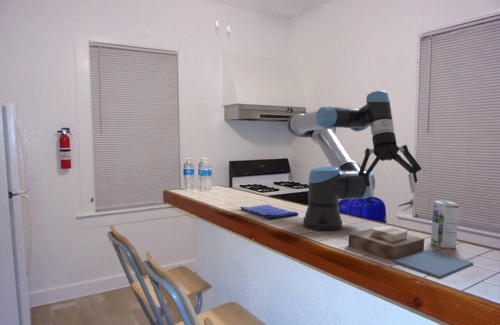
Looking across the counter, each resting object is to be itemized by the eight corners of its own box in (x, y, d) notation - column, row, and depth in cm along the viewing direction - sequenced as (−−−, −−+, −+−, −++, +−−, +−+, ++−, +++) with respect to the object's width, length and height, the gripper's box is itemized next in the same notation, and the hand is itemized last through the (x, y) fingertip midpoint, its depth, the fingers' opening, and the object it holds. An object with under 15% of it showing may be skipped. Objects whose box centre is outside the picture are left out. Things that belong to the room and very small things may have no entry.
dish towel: (268, 221, 142) (268, 214, 142) (239, 210, 162) (239, 205, 162) (299, 216, 152) (299, 210, 151) (268, 207, 171) (268, 201, 171)
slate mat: (392, 262, 96) (392, 260, 96) (426, 251, 106) (427, 249, 106) (439, 278, 85) (440, 275, 85) (472, 264, 95) (473, 262, 95)
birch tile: (370, 235, 108) (371, 228, 108) (384, 232, 112) (384, 225, 112) (393, 241, 102) (394, 234, 101) (407, 238, 105) (407, 231, 105)
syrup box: (429, 242, 115) (432, 200, 114) (447, 242, 115) (450, 200, 114) (438, 247, 110) (441, 203, 109) (457, 248, 110) (460, 203, 109)
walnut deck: (348, 245, 110) (348, 233, 110) (378, 238, 119) (379, 227, 119) (393, 260, 97) (394, 247, 97) (423, 251, 106) (424, 238, 105)
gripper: (348, 134, 117) (356, 195, 112) (424, 127, 114) (436, 189, 109) (345, 140, 124) (352, 198, 119) (416, 134, 121) (427, 193, 116)
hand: (392, 194), depth 114 cm, fingers open, 13 cm apart
